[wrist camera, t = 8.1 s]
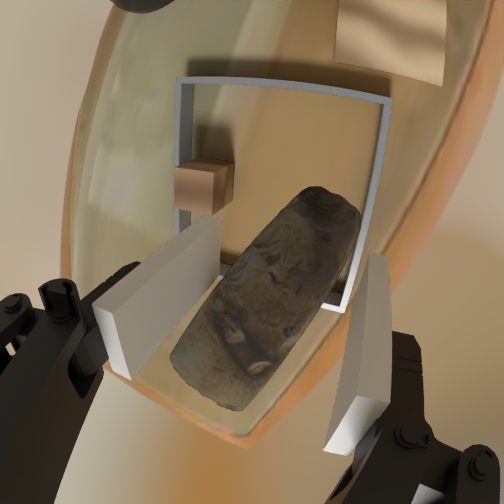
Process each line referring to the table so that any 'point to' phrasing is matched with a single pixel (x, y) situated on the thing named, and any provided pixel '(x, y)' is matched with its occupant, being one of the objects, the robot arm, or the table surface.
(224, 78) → the parts tray
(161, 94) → the table surface
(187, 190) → the walnut block
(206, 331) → the stone
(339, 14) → the cork pad
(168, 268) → the robot arm
